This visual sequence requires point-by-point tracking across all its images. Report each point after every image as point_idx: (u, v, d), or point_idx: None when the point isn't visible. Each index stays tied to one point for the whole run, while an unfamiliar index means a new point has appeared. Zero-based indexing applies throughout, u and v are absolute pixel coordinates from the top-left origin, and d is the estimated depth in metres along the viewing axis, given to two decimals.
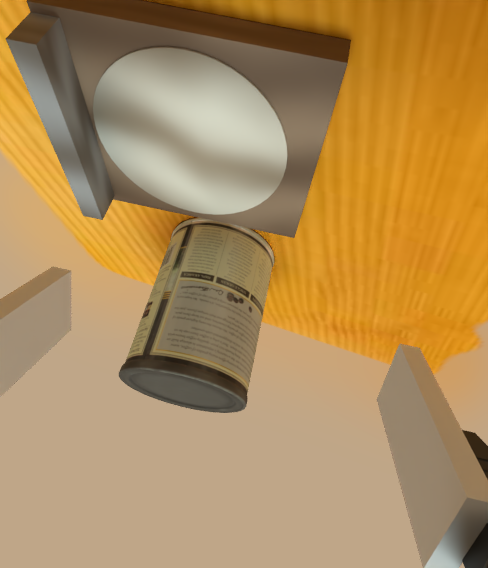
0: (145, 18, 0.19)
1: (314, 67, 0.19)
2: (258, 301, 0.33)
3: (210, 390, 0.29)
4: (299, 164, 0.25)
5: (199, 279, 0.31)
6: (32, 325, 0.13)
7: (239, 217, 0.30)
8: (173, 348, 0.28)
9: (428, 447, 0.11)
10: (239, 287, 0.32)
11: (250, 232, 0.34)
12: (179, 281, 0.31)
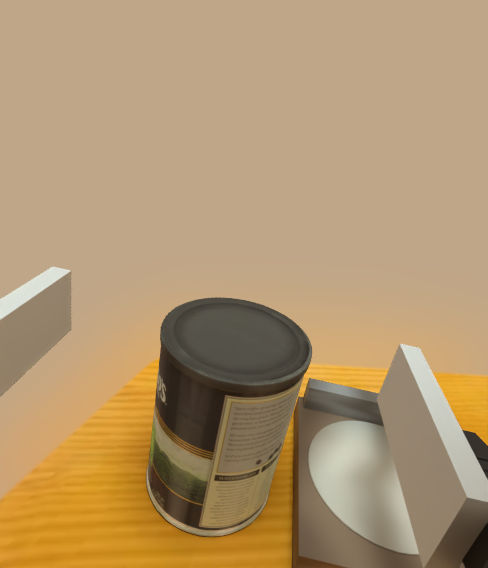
0: None
1: None
2: (241, 479, 0.26)
3: (267, 361, 0.25)
4: (405, 565, 0.27)
5: None
6: (32, 325, 0.13)
7: (312, 499, 0.30)
8: None
9: (428, 447, 0.11)
10: (271, 463, 0.28)
11: (259, 512, 0.30)
12: None
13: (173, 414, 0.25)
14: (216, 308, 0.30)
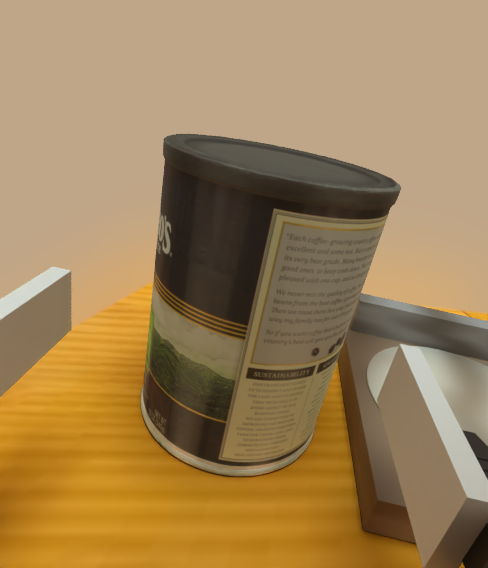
0: None
1: None
2: (287, 380, 0.17)
3: (335, 179, 0.15)
4: None
5: None
6: (32, 325, 0.13)
7: (382, 428, 0.21)
8: None
9: (428, 447, 0.11)
10: (330, 363, 0.18)
11: (304, 447, 0.21)
12: None
13: (182, 266, 0.16)
14: (245, 146, 0.20)
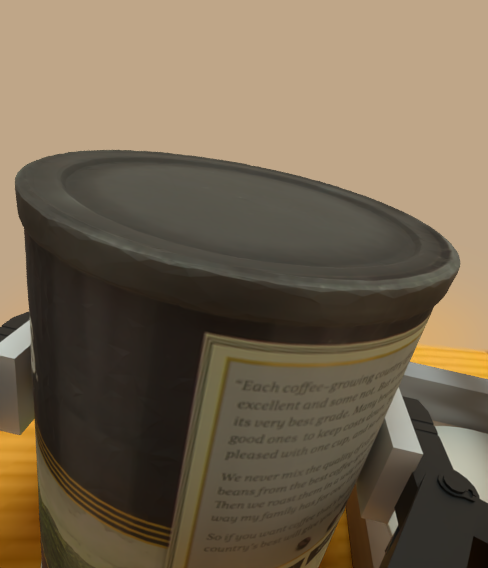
0: None
1: None
2: None
3: (339, 245, 0.08)
4: None
5: None
6: None
7: None
8: None
9: None
10: (329, 536, 0.11)
11: None
12: None
13: (51, 407, 0.08)
14: (196, 168, 0.13)
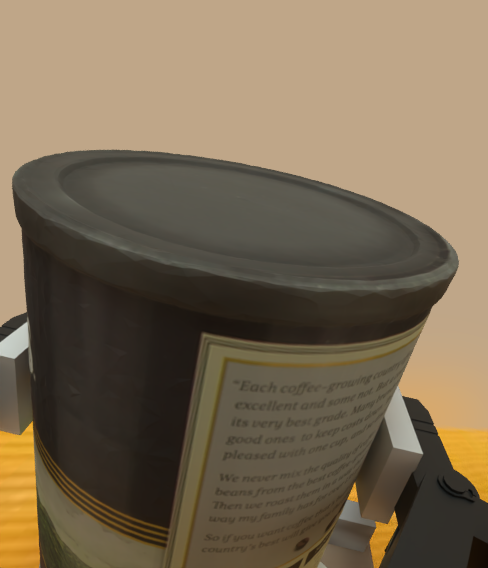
0: None
1: None
2: None
3: (338, 245, 0.08)
4: None
5: None
6: None
7: None
8: None
9: None
10: (328, 536, 0.11)
11: None
12: None
13: (48, 407, 0.08)
14: (195, 167, 0.13)
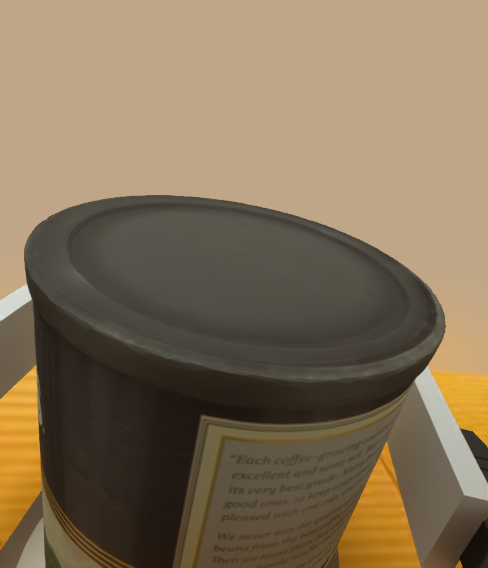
0: None
1: None
2: None
3: (330, 313, 0.08)
4: None
5: None
6: None
7: None
8: None
9: (426, 445, 0.11)
10: None
11: None
12: None
13: (57, 462, 0.09)
14: (196, 212, 0.13)
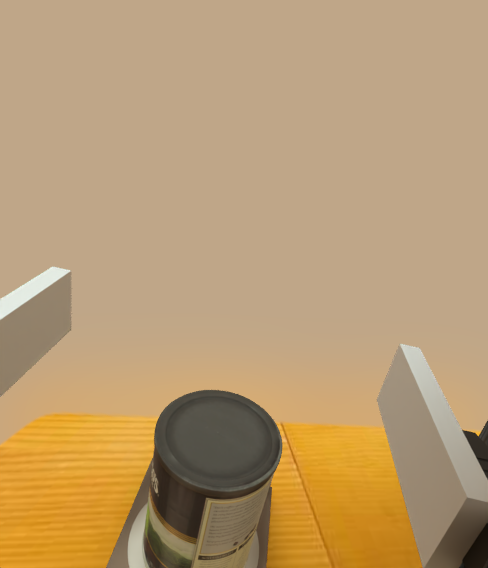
0: None
1: None
2: (221, 558, 0.31)
3: (242, 463, 0.30)
4: None
5: None
6: (32, 325, 0.13)
7: (119, 565, 0.35)
8: None
9: (428, 447, 0.11)
10: (247, 541, 0.33)
11: None
12: None
13: (164, 505, 0.30)
14: (203, 403, 0.35)
